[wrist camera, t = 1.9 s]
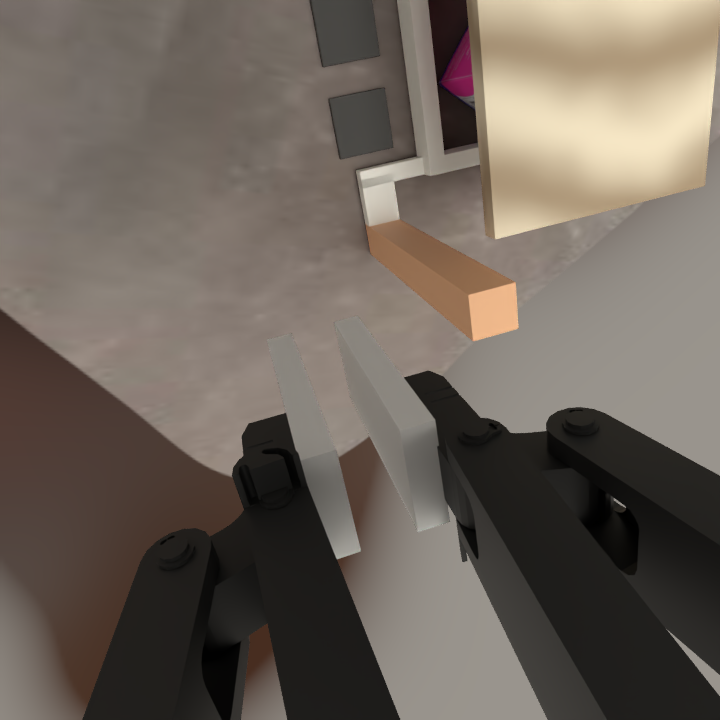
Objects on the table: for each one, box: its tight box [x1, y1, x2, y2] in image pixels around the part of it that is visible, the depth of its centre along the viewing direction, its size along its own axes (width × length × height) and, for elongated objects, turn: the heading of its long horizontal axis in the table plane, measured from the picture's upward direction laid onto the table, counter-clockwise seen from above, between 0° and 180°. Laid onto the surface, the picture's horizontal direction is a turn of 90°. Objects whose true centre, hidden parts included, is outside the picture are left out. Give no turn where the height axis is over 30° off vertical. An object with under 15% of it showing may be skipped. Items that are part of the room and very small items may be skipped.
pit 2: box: [329, 88, 393, 159], centre depth 40 cm, size 4×4×1 cm
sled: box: [356, 0, 518, 341], centre depth 33 cm, size 18×17×19 cm
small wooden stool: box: [467, 0, 720, 239], centre depth 34 cm, size 17×14×14 cm
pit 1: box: [310, 0, 380, 67], centre depth 37 cm, size 4×4×1 cm
